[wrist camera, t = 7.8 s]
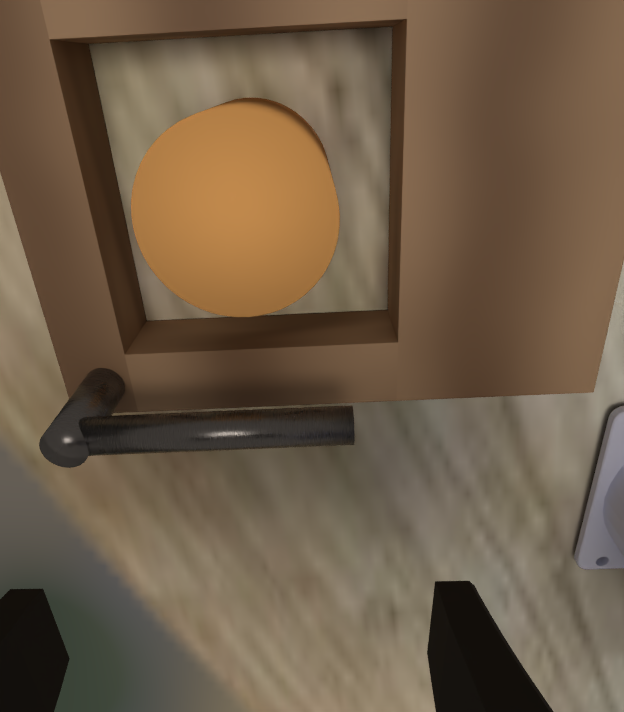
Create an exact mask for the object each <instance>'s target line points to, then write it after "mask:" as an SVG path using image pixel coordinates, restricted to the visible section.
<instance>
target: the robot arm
mask: <svg viewBox="0 0 624 712" xmlns="http://www.w3.org/2000/svg"><path fill="white" fill-rule="evenodd" d="M574 559H575V561H576V563H577V564H578V566H579V567H580V568H582V569H613V568H624V406H620V407H618V408H616V409H614V410H613V411H612V412H611V414H610V416H609V418H608V422H607V426H606V430H605V434H604V438H603V442H602V446H601V450H600V454H599V458H598V462H597V466H596V470H595V474H594V478H593V482H592V487H591V491H590V495H589V499H588V503H587V507H586V511H585V515H584V519H583V523H582V527H581V531H580V535H579V539H578V543H577V547H576V551H575V555H574ZM427 654H428V661H429V668H430V675H431V682H432V688H433V695H434V701H435V708H436V712H553V710H552V709H551V708H550V706H549V705H548V703H547V702H546V700H545V699H544V697H543V696H542V694H541V693H540V691H539V690H538V689H537V687H536V686H535V684H534V683H533V681H532V680H531V678H530V677H529V675H528V674H527V672H526V671H525V669H524V668H523V666H522V665H521V663H520V662H519V660H518V658H517V657H516V655H515V654H514V652H513V651H512V649H511V647H510V646H509V644H508V643H507V641H506V639H505V638H504V636H503V635H502V633H501V631H500V630H499V628H498V626H497V625H496V623H495V621H494V620H493V618H492V616H491V615H490V613H489V611H488V609H487V608H486V606H485V604H484V602H483V601H482V599H481V597H480V595H479V593H478V592H477V590H476V588H475V586H474V585H473V584H472V583H471V582H470V581H437V582H435V588H434V597H433V606H432V615H431V624H430V633H429V642H428V651H427ZM68 662H69V656H68V653H67V651H66V648H65V646H64V643H63V640H62V638H61V635H60V632H59V630H58V627H57V624H56V622H55V619H54V617H53V614H52V611H51V609H50V606H49V603H48V601H47V598H46V595H45V593H44V590H43V589H10V590H9V591H8V592H7V593H6V594H5V595H4V596H3V597H2V598H1V599H0V712H54V710H55V706H56V703H57V700H58V697H59V694H60V690H61V686H62V683H63V680H64V676H65V672H66V669H67V665H68Z"/></svg>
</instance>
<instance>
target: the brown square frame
mask: <svg viewBox="0 0 624 712" xmlns="http://www.w3.org/2000/svg"><path fill="white" fill-rule="evenodd" d="M392 26H393V29H392V87H391V145H390V203H389V260H388V310H378V311H356V312H335V313H313V314H292V315H270V316H252V317H227V318H205V319H184V320H162V321H146V317H145V312H144V307H143V303H142V298H141V293H140V288H139V284H138V279H137V274H136V269H135V264H134V260H133V255H132V250H131V245H130V241H129V236H128V231H127V226H126V222H125V217H124V212H123V207H122V202H121V198H120V193H119V188H118V183H117V179H116V174H115V169H114V164H113V160H112V155H111V150H110V145H109V140H108V136H107V131H106V126H105V121H104V117H103V112H102V107H101V102H100V98H99V93H98V88H97V83H96V79H95V74H94V69H93V64H92V59H91V55H90V50H89V45H88V44H94V43H112V42H129V41H147V40H164V39H182V38H199V37H217V36H235V35H252V34H270V33H287V32H305V31H322V30H340V29H357V28H375V27H392ZM0 172H1V176H2V179H3V182H4V185H5V189H6V192H7V195H8V199H9V202H10V205H11V208H12V212H13V215H14V218H15V222H16V225H17V228H18V231H19V235H20V238H21V241H22V245H23V248H24V251H25V254H26V258H27V261H28V264H29V268H30V271H31V274H32V277H33V281H34V284H35V287H36V291H37V294H38V297H39V300H40V304H41V307H42V310H43V314H44V317H45V320H46V323H47V327H48V330H49V333H50V337H51V340H52V343H53V346H54V350H55V353H56V356H57V359H58V363H59V366H60V369H61V373H62V376H63V379H64V382H65V386H66V389H67V392H68V396H69V399H70V397H71V396H72V395H73V393H74V392H75V391H76V389H77V388H78V387H79V385H80V384H81V382H82V381H83V380H84V378H85V377H86V376H87V374H88V373H89V372H90V371H92V370H94V369H97V368H107V369H110V370H113V371H114V372H116V373H117V374H119V375H120V376H121V378H122V379H123V381H124V383H125V393H124V395H123V396H122V398H121V400H120V402H119V403H118V405H117V407H116V409H115V410H114V412H113V413H122V412H146V411H169V410H192V409H215V408H239V407H262V406H285V405H309V404H332V403H355V402H378V401H402V400H425V399H448V398H471V397H495V396H518V395H541V394H564V393H588V392H594V388H595V384H596V379H597V375H598V371H599V366H600V362H601V357H602V353H603V349H604V344H605V340H606V335H607V331H608V327H609V322H610V318H611V313H612V309H613V304H614V300H615V296H616V291H617V287H618V282H619V278H620V274H621V269H622V265H623V260H624V0H0Z"/></svg>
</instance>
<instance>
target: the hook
mask: <svg viewBox="0 0 624 712" xmlns="http://www.w3.org/2000/svg"><path fill="white" fill-rule="evenodd" d="M124 393H125V383H124V381H123V379H122V378H121V376H120V375H119V374H117V373H116V372H114V371H113V370H110V369H107V368H97V369H94V370H92V371H90V372H89V373H88V374H87V376H86V377H85V378H84V380H83V381H82V382H81V384H80V385H79V387H78V388H77V389H76V391H75V392H74V393H73V395H72V396H71V397H70V399H69V400H68V402H67V403H66V404H65V406H64V407H63V408H62V410H61V411H60V413H59V414H58V415H57V417H56V418H55V419H54V421H53V422H52V423H51V425H50V426H49V428H48V429H47V430H46V432H45V433H44V434H43V436H42V437H41V439H40V443H39V446H40V450H41V452H42V454H43V455H44V457H45V458H46V459H47V460H49V461H50V462H51V463H53V464H55V465H58V466H61V467H67V468H71V467H76V466H79V465H81V464H82V463H84V462H85V461H86V459H87V457H88V456H93V455H118V454H142V453H166V452H190V451H214V450H238V449H263V448H287V447H311V446H335V445H354V441H355V437H354V416H353V407H352V406H328V407H305V408H282V409H258V410H235V411H212V412H189V413H165V414H142V415H119V416H112V414H113V412H114V410H115V409H116V407H117V405H118V403H119V402H120V400H121V398H122V396H123V395H124Z"/></svg>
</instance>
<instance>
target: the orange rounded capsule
mask: <svg viewBox="0 0 624 712" xmlns="http://www.w3.org/2000/svg"><path fill="white" fill-rule="evenodd" d="M131 216H132V222H133V229H134V233H135V236H136V239H137V243H138V245H139V247H140V250H141V252H142V254H143V256H144V258H145V260H146V261H147V263H148V265H149V267H150V268H151V269H152V271H153V272H154V273H155V275H156V276H157V277H158V278H159V279H160V280H161V281H162V283H163V284H164V285H165V286H166V287H167V288H169V289H170V290H171V291H172V292H173V293H175V294H176V295H177V296H178V297H180V298H182V299H183V300H185V301H186V302H188V303H190V304H192V305H194V306H196V307H198V308H200V309H203V310H205V311H208V312H211V313H215V314H219V315H224V316H232V317H252V316H260V315H264V314H268V313H272V312H275V311H278V310H280V309H283V308H285V307H287V306H289V305H290V304H292V303H294V302H296V301H297V300H298V299H300V298H301V297H302V296H304V295H305V294H306V293H307V292H308V291H309V290H310V289H311V288H313V287H314V286H315V284H316V283H317V282H318V281H319V279H320V278H321V277H322V275H323V274H324V272H325V270H326V269H327V267H328V265H329V263H330V261H331V259H332V256H333V254H334V251H335V248H336V244H337V240H338V234H339V220H340V213H339V205H338V198H337V194H336V190H335V186H334V182H333V179H332V175H331V171H330V167H329V163H328V159H327V156H326V153H325V150H324V148H323V145H322V143H321V141H320V139H319V137H318V136H317V134H316V133H315V131H314V130H313V129H312V127H311V126H310V125H309V124H308V123H307V122H306V121H305V120H304V119H303V118H302V117H301V116H300V115H298V114H297V113H296V112H295V111H293V110H291V109H290V108H288V107H286V106H284V105H282V104H280V103H277V102H274V101H271V100H267V99H261V98H242V99H235V100H232V101H229V102H226V103H223V104H220V105H218V106H215V107H212V108H210V109H207V110H204V111H202V112H199V113H196V114H194V115H191V116H189V117H187V118H185V119H183V120H181V121H179V122H177V123H176V124H175V125H173V126H172V127H170V128H169V129H167V130H166V131H165V132H164V133H163V134H162V135H161V136H160V137H159V138H158V139H157V140H156V141H155V142H154V143H153V145H152V146H151V147H150V148H149V150H148V151H147V153H146V155H145V156H144V158H143V160H142V161H141V164H140V166H139V169H138V171H137V174H136V177H135V181H134V185H133V189H132V199H131Z"/></svg>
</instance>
